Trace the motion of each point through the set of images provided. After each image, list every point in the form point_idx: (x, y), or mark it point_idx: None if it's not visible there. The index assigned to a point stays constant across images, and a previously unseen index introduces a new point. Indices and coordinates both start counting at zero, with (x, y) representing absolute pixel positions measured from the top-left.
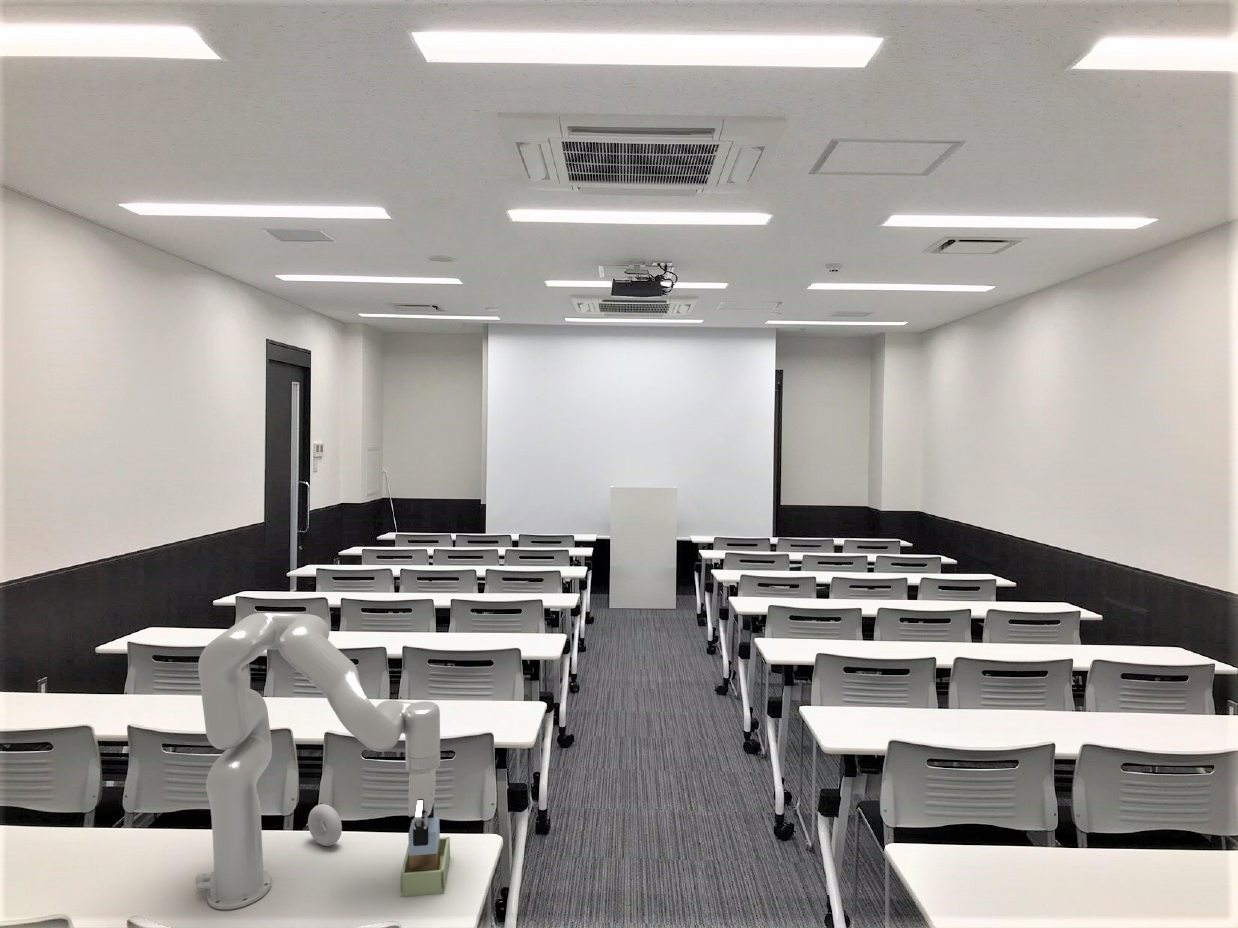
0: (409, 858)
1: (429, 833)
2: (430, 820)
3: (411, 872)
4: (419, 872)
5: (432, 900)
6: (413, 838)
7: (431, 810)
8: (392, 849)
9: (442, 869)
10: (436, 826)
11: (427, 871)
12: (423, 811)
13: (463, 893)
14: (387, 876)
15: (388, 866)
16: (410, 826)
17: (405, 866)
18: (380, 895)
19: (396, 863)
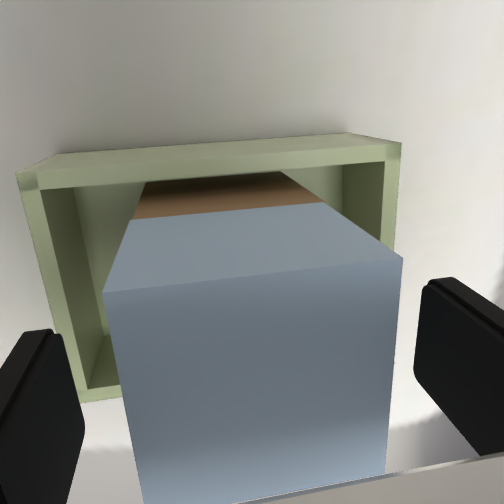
0: (135, 215)
1: (140, 463)
2: (347, 422)
3: (49, 238)
4: (53, 285)
5: (42, 303)
6: (1, 373)
7: (469, 434)
8: (458, 13)
9: (91, 394)
10: (239, 495)
11: (66, 326)
12: (478, 363)
13: (98, 404)
14: (227, 39)
15: (313, 24)
16: (261, 273)
17: (123, 181)
18: (61, 36)
19: (333, 65)
